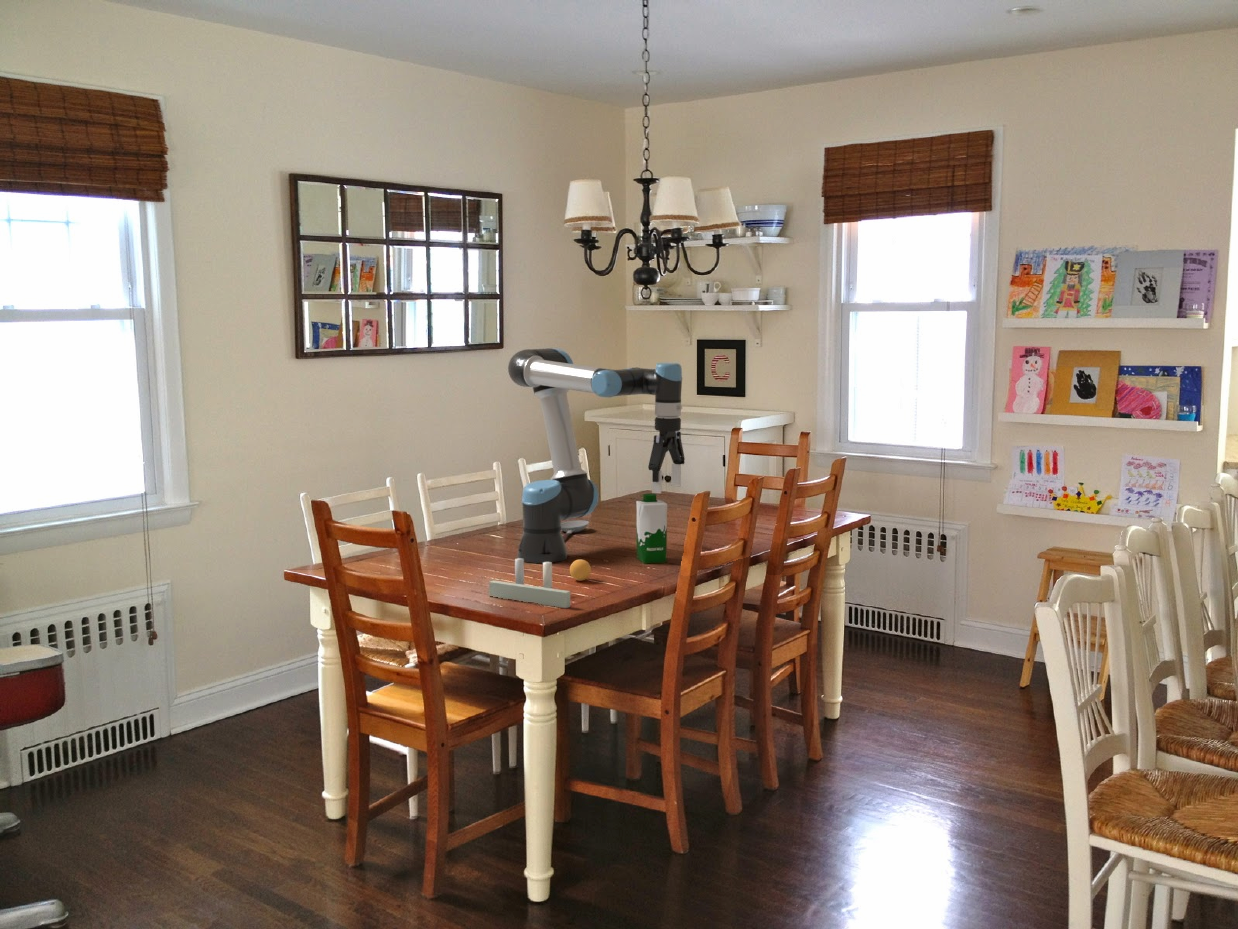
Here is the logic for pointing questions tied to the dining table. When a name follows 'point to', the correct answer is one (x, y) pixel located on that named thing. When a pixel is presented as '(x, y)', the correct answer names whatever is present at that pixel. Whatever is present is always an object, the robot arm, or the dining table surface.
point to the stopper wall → (530, 594)
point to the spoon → (573, 527)
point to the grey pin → (519, 571)
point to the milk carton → (651, 529)
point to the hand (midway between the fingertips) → (666, 489)
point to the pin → (547, 575)
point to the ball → (580, 570)
